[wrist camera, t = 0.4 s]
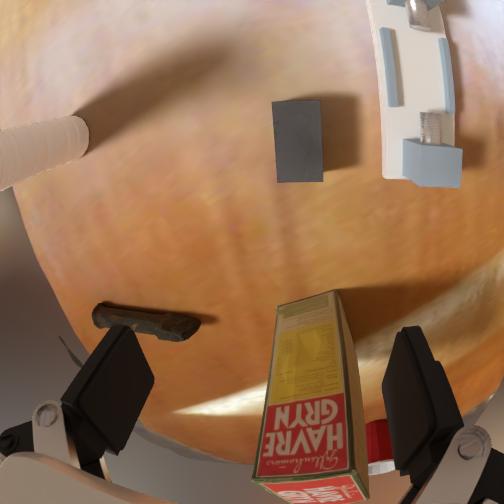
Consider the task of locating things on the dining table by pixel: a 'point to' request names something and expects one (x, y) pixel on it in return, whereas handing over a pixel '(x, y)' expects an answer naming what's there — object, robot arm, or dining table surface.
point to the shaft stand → (415, 92)
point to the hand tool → (147, 322)
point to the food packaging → (313, 408)
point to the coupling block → (298, 141)
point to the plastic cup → (379, 447)
